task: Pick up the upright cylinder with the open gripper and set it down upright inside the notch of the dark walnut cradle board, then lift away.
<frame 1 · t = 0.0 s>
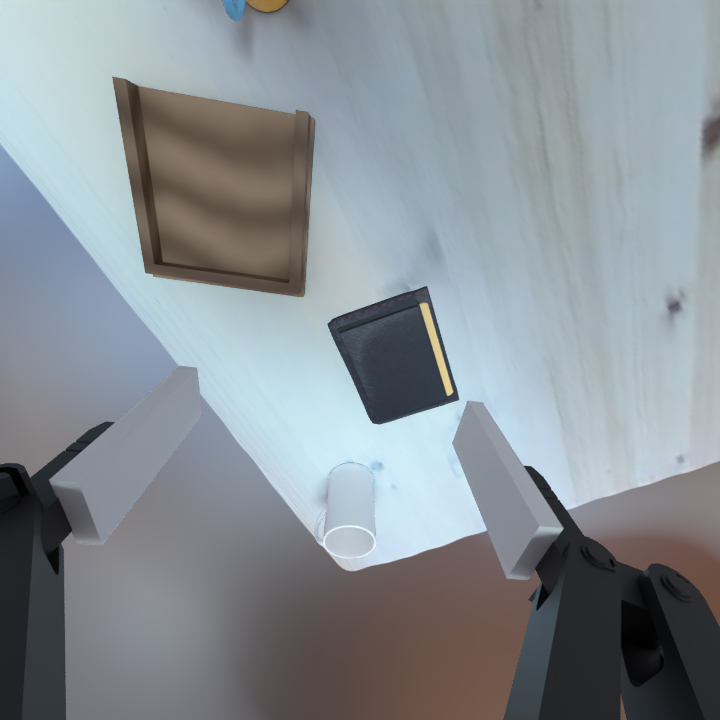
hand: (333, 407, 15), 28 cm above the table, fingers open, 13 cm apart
wallet: (396, 361, 46), on the table
notched cradle: (229, 205, 36), on the table
mug: (343, 481, 57), on the table
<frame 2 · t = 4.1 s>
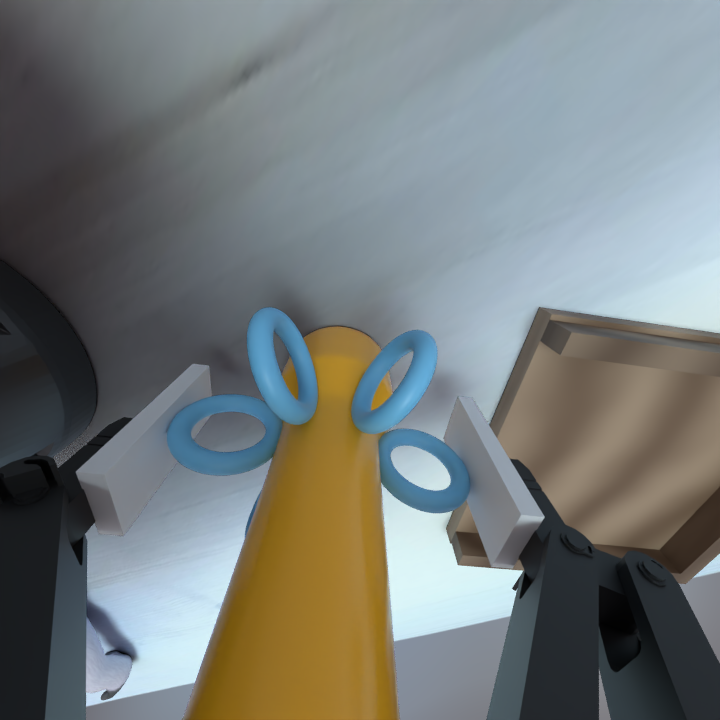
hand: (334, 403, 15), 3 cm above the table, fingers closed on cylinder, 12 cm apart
cylinder: (338, 369, 18), on the table, touching gripper
yeti figurine: (60, 616, 32), on the table
notched cradle: (612, 455, 21), on the table
when the fingers open (7 cm above the table, at t = 12.3 s): cylinder drops 2 cm, resting on notched cradle.
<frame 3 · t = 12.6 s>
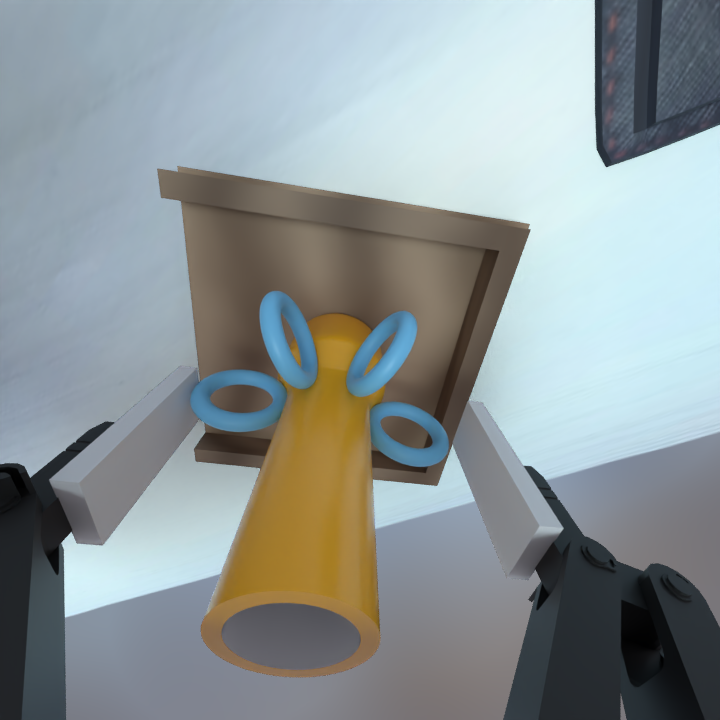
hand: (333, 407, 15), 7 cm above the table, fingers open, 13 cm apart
cylinder: (336, 353, 20), point 1 cm above the table, touching notched cradle
notched cradle: (341, 347, 21), on the table
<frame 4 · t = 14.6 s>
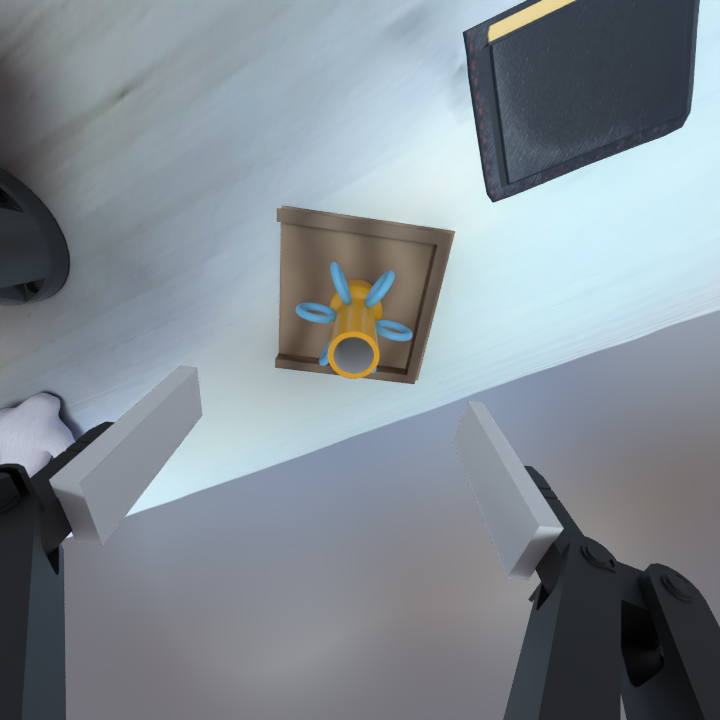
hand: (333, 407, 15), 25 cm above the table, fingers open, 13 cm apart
cylinder: (355, 303, 37), point 1 cm above the table, touching notched cradle
wallet: (575, 84, 29), on the table
yeti figurine: (51, 436, 48), on the table
notched cradle: (358, 301, 38), on the table
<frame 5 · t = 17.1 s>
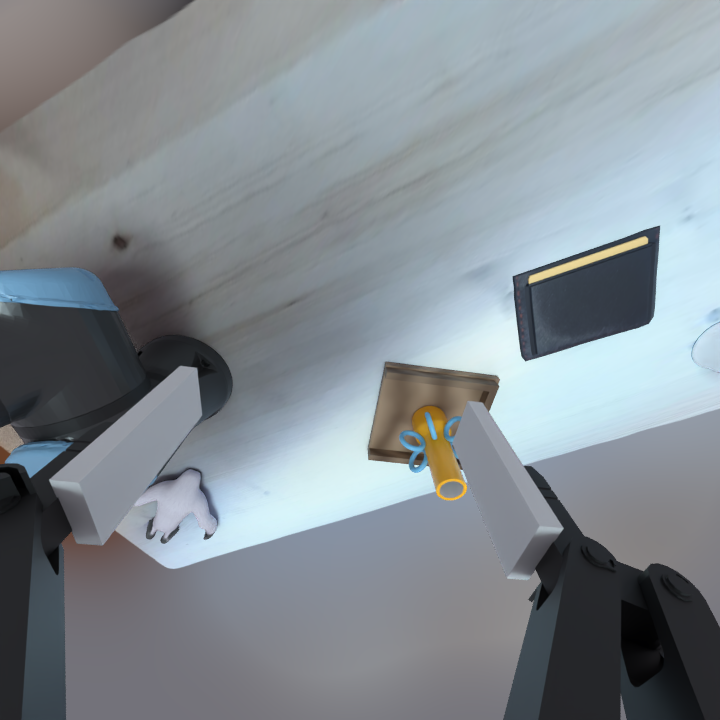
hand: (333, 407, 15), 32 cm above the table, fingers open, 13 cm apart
cylinder: (427, 418, 53), point 1 cm above the table, touching notched cradle
wallet: (581, 298, 46), on the table
yeti figurine: (184, 496, 64), on the table
notched cradle: (428, 415, 54), on the table
mug: (719, 350, 49), on the table
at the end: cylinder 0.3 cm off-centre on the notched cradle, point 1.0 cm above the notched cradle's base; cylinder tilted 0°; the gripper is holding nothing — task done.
